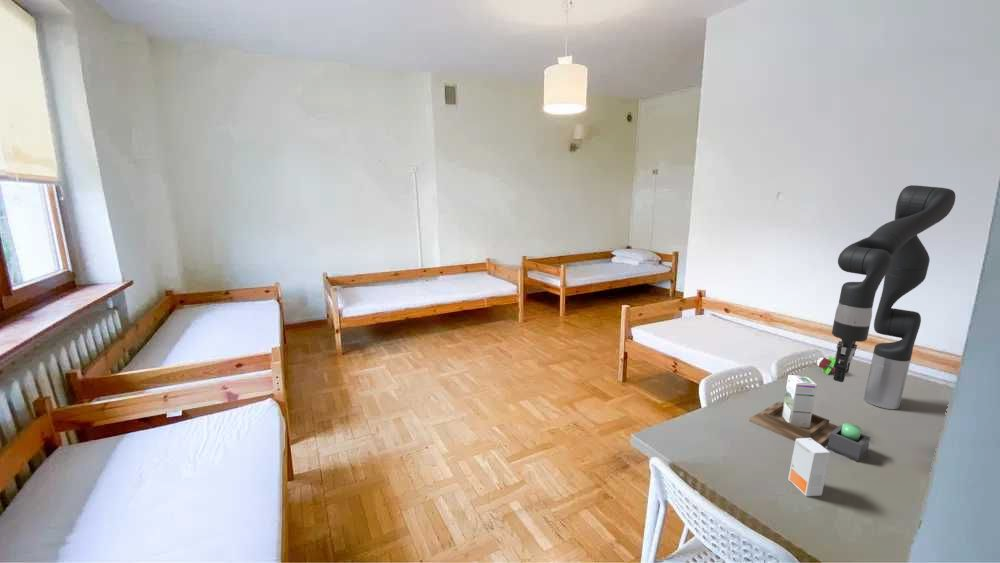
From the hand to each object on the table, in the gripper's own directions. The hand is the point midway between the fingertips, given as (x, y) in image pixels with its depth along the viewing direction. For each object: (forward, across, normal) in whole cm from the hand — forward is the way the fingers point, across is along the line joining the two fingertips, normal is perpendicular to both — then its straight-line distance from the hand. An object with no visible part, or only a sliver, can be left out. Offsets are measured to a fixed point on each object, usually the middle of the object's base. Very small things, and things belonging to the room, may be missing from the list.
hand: (840, 376), depth 118 cm
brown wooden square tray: (+21, +4, +9) cm, 23 cm away
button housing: (+21, -1, -4) cm, 21 cm away
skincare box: (+21, -28, +1) cm, 35 cm away
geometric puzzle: (+21, +58, +8) cm, 63 cm away
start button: (+16, -1, -4) cm, 17 cm away
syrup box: (+20, +4, +9) cm, 22 cm away
